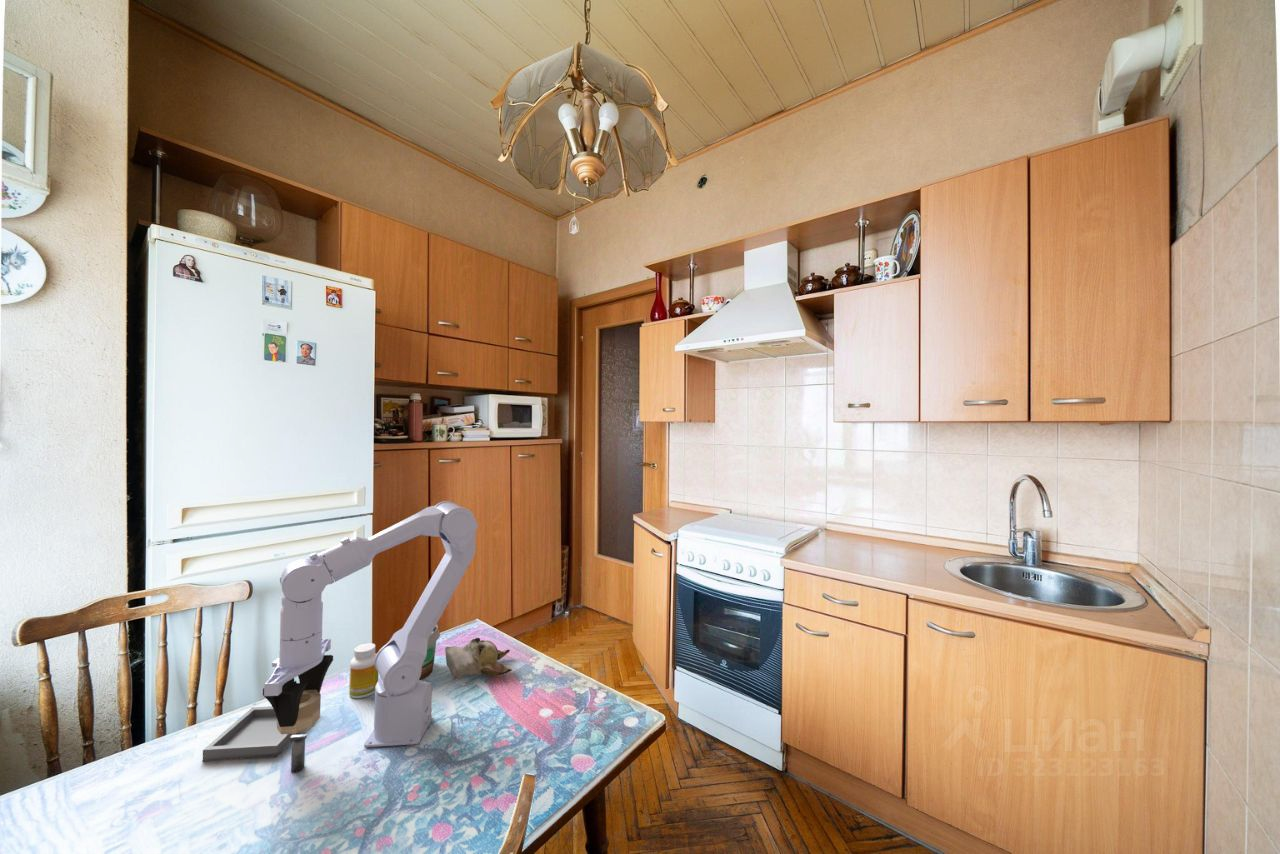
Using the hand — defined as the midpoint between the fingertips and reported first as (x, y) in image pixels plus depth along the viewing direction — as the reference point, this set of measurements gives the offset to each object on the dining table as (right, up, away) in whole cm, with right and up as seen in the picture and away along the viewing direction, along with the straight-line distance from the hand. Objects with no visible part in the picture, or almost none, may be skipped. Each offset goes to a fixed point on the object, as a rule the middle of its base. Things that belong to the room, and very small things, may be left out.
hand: (299, 713), depth 75 cm
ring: (0, -2, 0) cm, 2 cm away
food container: (+7, -10, +29) cm, 31 cm away
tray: (-12, -9, +7) cm, 17 cm away
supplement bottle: (-3, -10, +22) cm, 24 cm away
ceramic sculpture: (+19, -10, +30) cm, 37 cm away
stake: (0, -9, 0) cm, 9 cm away
